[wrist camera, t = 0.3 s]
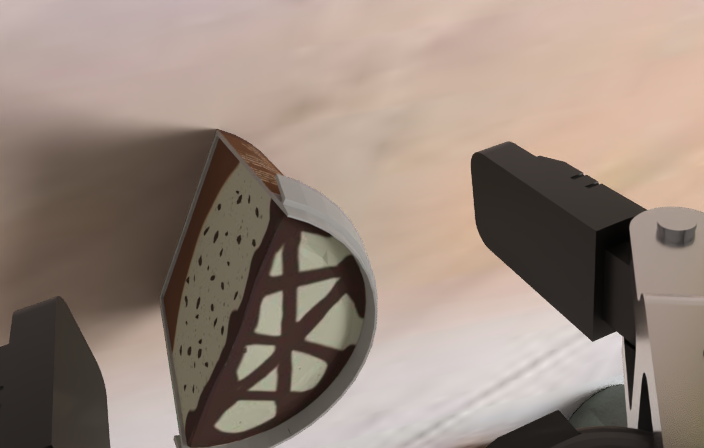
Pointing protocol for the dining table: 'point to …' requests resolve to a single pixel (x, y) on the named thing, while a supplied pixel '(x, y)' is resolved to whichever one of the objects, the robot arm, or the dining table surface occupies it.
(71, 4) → the dining table surface
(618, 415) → the bottle
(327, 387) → the food container
